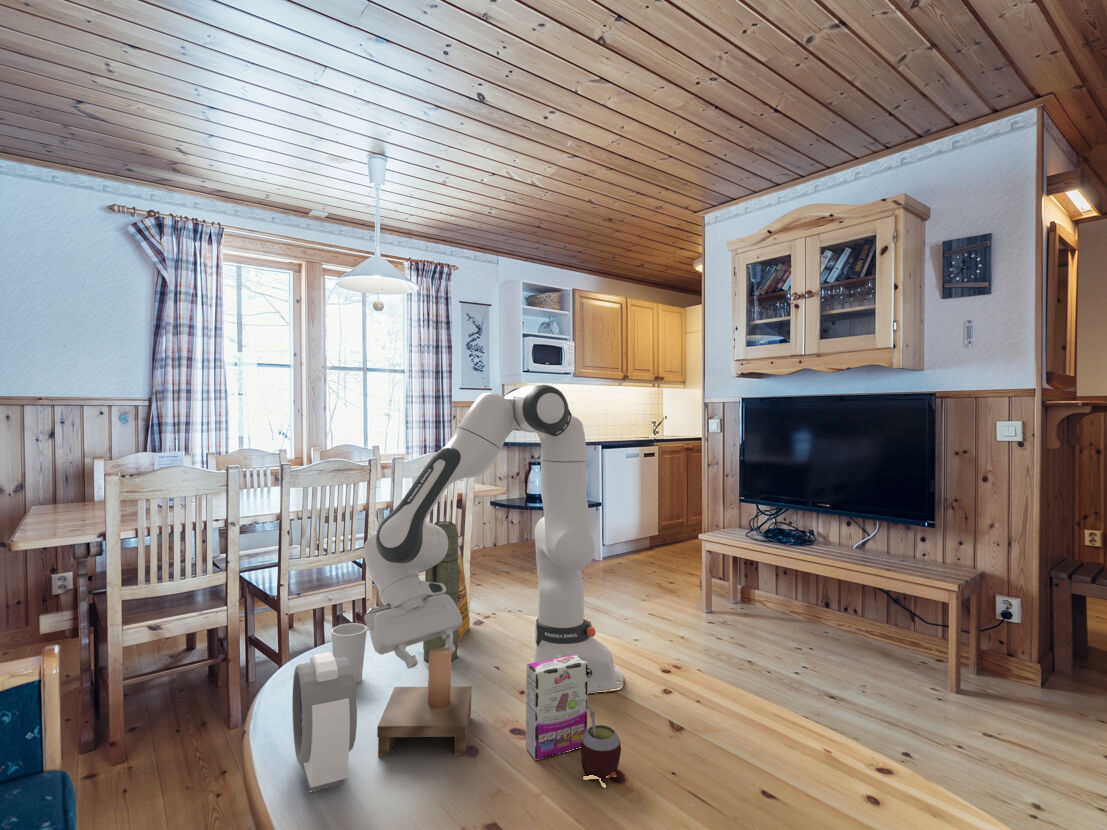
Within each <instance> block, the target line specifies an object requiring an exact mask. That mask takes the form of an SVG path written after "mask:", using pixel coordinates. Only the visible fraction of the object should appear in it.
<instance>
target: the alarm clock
mask: <svg viewBox="0 0 1107 830" xmlns="http://www.w3.org/2000/svg"><path fill="white" fill-rule="evenodd" d="M309 660H310V661H309V662H305V663H300V664H297V665H296V666H295V668H294V671H293V672H294V673H293V680H292V681H293V682H292V697H291V698H292V701H291V702H292V706H291V708H292V730H293V731H292V732H293V734H292V735H293V744H294V752H295V757H296V761H297V762H298V763H299V764H301V765H302V767H303V771H304V774H305V779H307V780H306V783H308V784H307V788H308V787H309V788H308V791H314V790H318V791H320V790H319V789H321V790H324V789H323V788H325V789H327V788H326V787H329V788H332V787H331V786H333V787H336V786H340V785H343V780H345V779H348V775H349V774H348V773H349V761H350V760H349V758H350V757H349V756H350V752H352V750H353V749H354V746H355V742H356V738H357V727H358V725H357V723H358V708H357V706H358V705H357V691H356V684H355V682H354V675H353V671H352V667H351V665H350V662H349V660H348V659H347V657H340V658H334V656H333V652H331V651H328V652H320V653H316V654H311V656H310V658H309ZM339 784H340V785H339ZM335 785H336V786H335ZM314 792H315V791H314Z"/></svg>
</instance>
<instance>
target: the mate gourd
mask: <svg viewBox="0 0 1107 830" xmlns="http://www.w3.org/2000/svg"><path fill="white" fill-rule="evenodd" d="M586 707H587V710H588V711H589V717H590V718H591V725H590V727H589V728H588V727H587V730H586V731H585V733H584V735H583V738H582V742H581V748H580V749H579V750H580V759H581V761H580V762H581V768H582V771H583V775H584V776H589V775H594V776H597V777H599V778H601V781H602V782H603V783H605V782H606V776H608V775H610V774H611V773H612V772H616V773H617V771H618V767H619V764H620V758H621V753H622V745H621V739H620V737H619V736H618V733H617V732H616V730H615V729H613V728H612V727H611V726H608V725H603V724H596V722H595V716H596V715H595V711H594V710H593V708H592V707H591V706H589V705H588V704H587V705H586Z"/></svg>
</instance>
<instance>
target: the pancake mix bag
mask: <svg viewBox="0 0 1107 830" xmlns="http://www.w3.org/2000/svg"><path fill="white" fill-rule="evenodd" d="M461 552H462V551H461V549H460V545H459V543H458V565H459V568H460V585H459V591H458V593H457V608H458V610H459V612H460V614H461V616H462V624H461V625H460V626H459V628H458V632H459V636H458V642H459V641H461V639H462V638H463V637H464V636H465V634H466V633H467V632H468V631H467V630H469V629H470V627H471V626H470V625H471V624H470V623H471V622H470V621H471V619H470V611H469V606H468V605H469V604H468V594H467V593H468V592H467V585H466V575H465V568H464V567H465V566H464V561H463V556H462V553H461Z"/></svg>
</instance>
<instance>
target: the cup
mask: <svg viewBox="0 0 1107 830" xmlns="http://www.w3.org/2000/svg"><path fill="white" fill-rule="evenodd" d="M367 632H368V627H367V625H365V624H362V623H356V622H355V623H344V624H343V623H342V624H340V625H337V626H334V627H333V628H331V633H330V634H331V646H332V647H331V648H332V654H333V656H334V658H340V657H347V659H348V660H349V662H350V665H351V667H352V671H353V675H354V682H355V685H357V684H359V683H361V682H362V680H363V670H364V669H363V668H364V659H365V650H366V640H367ZM358 682H359V683H358ZM356 683H357V684H356Z"/></svg>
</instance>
